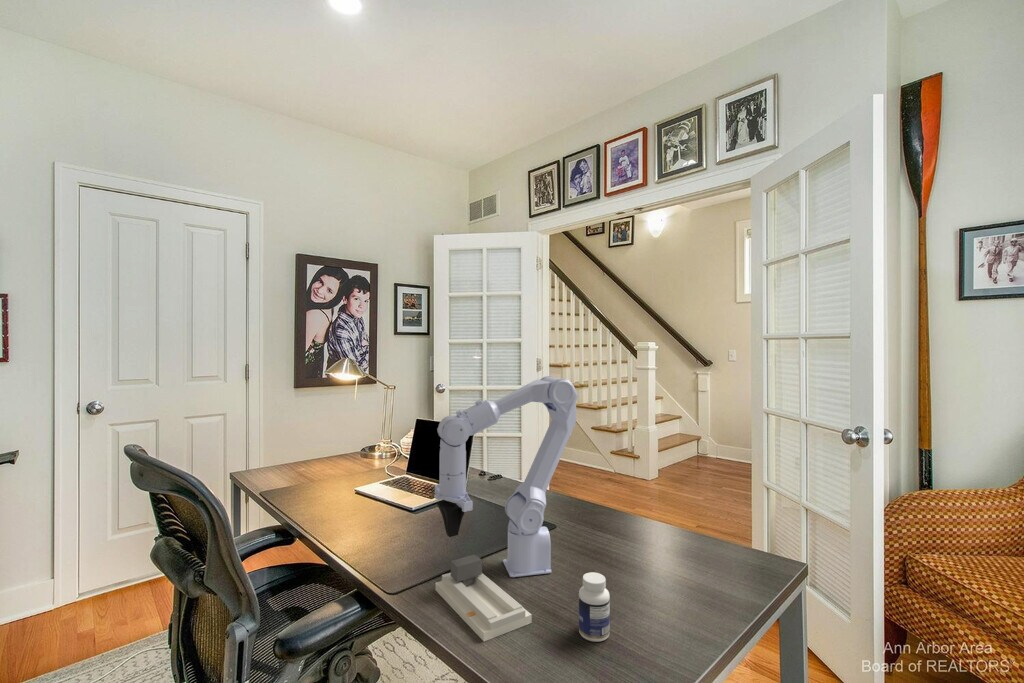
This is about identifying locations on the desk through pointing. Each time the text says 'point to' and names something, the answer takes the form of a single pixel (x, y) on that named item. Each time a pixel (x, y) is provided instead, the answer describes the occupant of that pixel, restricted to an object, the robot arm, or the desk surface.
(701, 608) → the desk surface
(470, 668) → the desk surface
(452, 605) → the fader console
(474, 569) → the fader tab
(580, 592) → the pill bottle
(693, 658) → the desk surface
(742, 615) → the desk surface
